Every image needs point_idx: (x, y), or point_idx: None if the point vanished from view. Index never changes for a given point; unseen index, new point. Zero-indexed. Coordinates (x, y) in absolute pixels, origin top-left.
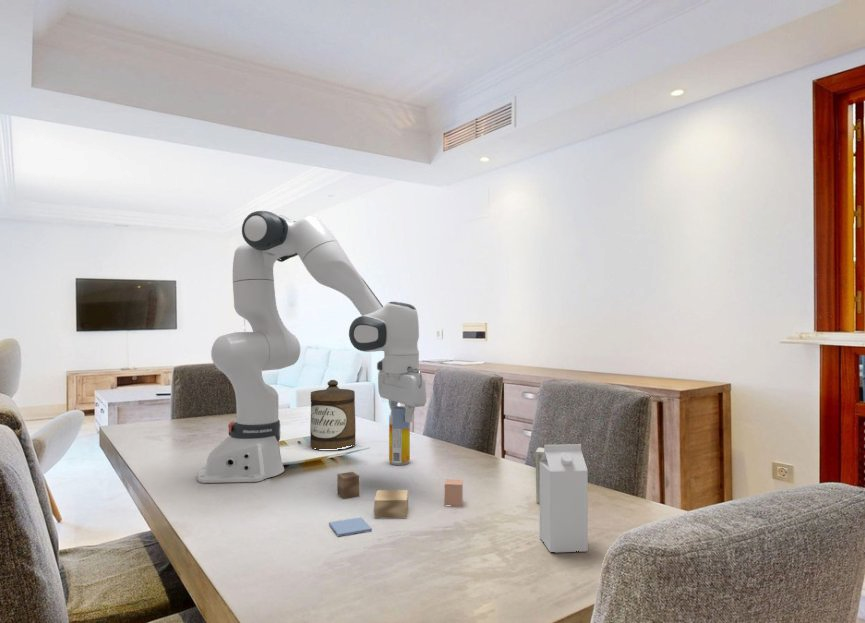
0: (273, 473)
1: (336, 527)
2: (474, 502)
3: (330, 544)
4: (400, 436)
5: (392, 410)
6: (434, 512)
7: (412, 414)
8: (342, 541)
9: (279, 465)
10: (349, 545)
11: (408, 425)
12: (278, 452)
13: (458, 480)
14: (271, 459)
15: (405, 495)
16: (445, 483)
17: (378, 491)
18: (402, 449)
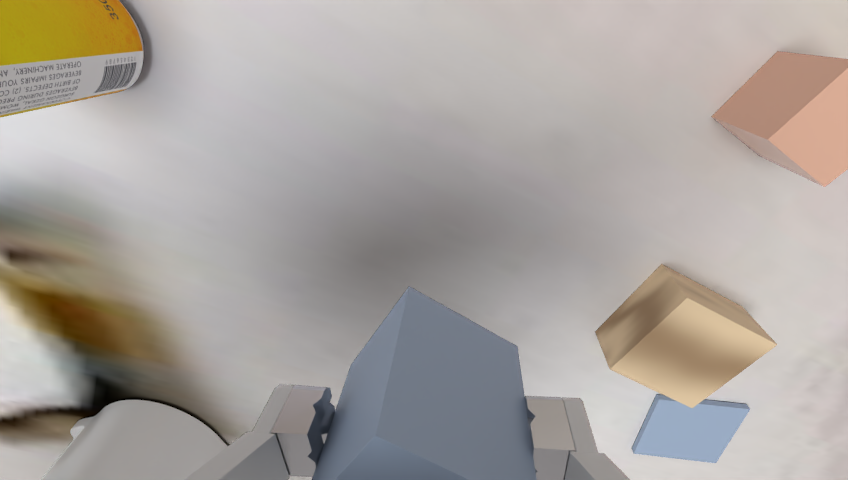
0: (209, 439)
1: (675, 453)
2: (843, 11)
3: (736, 476)
4: (16, 71)
5: (287, 477)
6: (780, 220)
7: (609, 460)
8: (742, 459)
9: (174, 436)
10: (774, 457)
11: (513, 363)
12: (141, 470)
13: (845, 91)
14: (182, 477)
15: (733, 329)
16: (821, 178)
17: (624, 371)
18: (88, 50)
